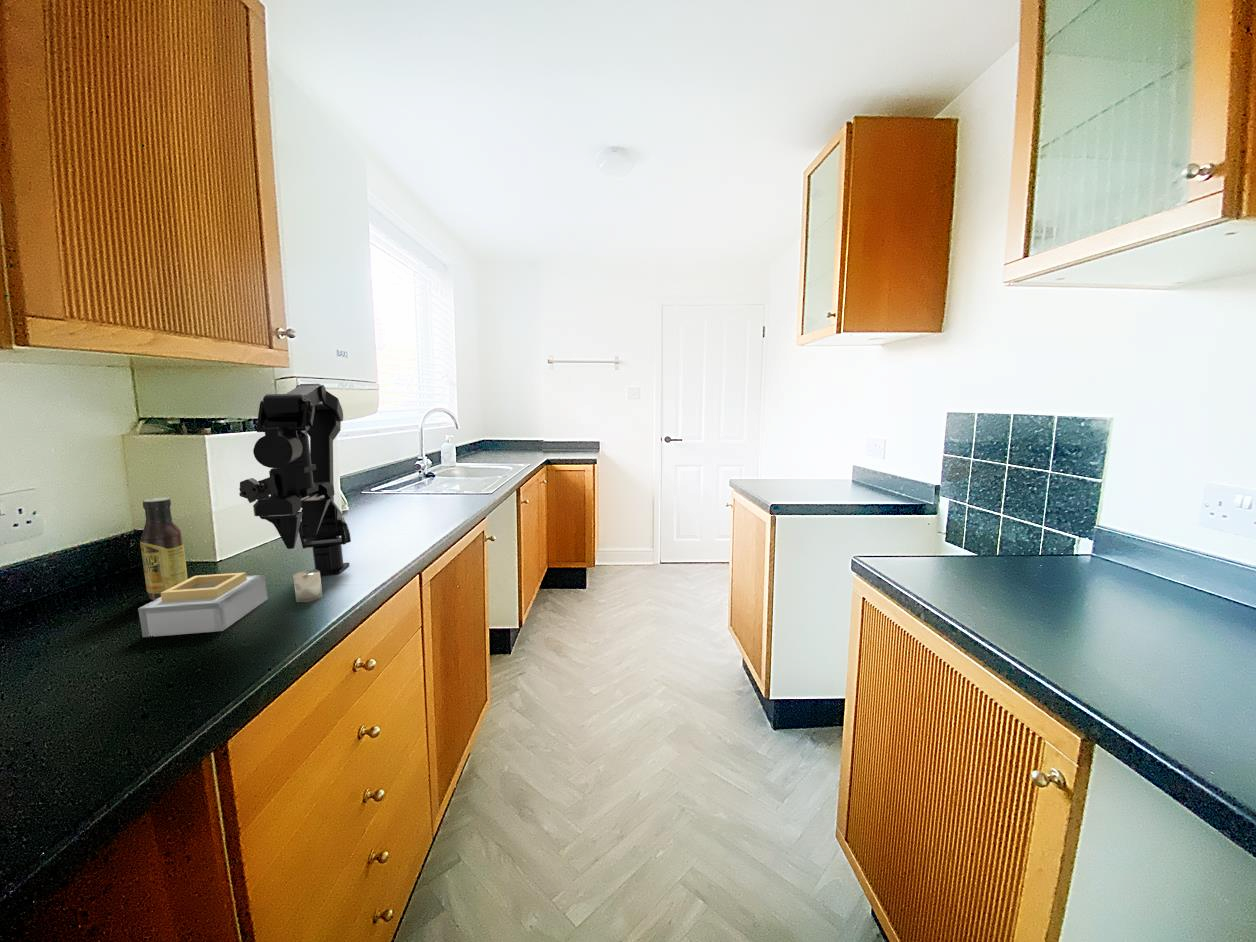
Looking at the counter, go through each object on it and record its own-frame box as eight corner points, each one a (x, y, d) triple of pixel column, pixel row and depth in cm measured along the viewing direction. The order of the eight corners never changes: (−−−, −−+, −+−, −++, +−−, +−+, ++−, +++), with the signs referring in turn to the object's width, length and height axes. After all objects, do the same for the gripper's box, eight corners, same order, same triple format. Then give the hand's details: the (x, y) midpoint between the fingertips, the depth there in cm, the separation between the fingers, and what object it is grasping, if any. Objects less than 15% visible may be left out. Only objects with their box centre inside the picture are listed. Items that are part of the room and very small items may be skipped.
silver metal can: (302, 594, 102) (299, 570, 102) (326, 593, 103) (323, 569, 102) (291, 603, 98) (288, 578, 97) (316, 601, 99) (313, 576, 98)
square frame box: (199, 604, 98) (194, 571, 98) (267, 599, 100) (263, 567, 99) (142, 637, 85) (136, 599, 84) (222, 630, 87) (217, 594, 86)
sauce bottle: (142, 598, 102) (126, 500, 99) (181, 588, 107) (166, 495, 104) (157, 604, 99) (141, 503, 96) (196, 593, 104) (182, 497, 101)
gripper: (272, 456, 104) (282, 531, 107) (213, 470, 86) (226, 559, 89) (331, 454, 106) (339, 528, 108) (285, 467, 88) (296, 555, 90)
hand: (302, 541), depth 99 cm, fingers open, 9 cm apart
